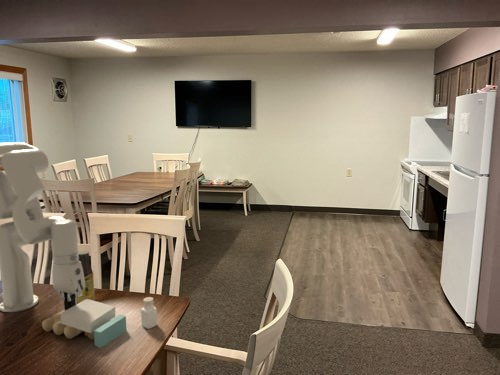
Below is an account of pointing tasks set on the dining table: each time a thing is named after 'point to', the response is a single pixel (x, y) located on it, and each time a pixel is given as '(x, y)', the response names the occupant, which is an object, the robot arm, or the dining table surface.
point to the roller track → (60, 326)
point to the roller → (92, 334)
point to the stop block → (110, 330)
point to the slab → (88, 315)
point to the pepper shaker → (149, 313)
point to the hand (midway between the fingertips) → (70, 310)
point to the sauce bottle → (86, 278)
